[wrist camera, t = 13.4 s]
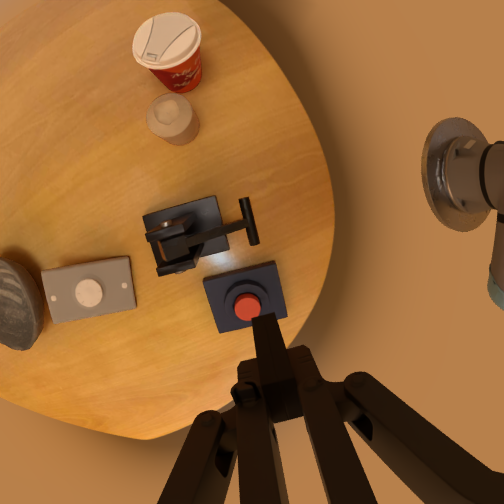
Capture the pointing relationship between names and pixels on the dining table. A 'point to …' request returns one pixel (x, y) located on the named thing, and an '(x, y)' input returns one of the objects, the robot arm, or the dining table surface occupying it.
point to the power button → (247, 306)
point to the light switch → (89, 289)
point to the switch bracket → (185, 232)
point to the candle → (173, 119)
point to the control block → (237, 283)
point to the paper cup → (170, 50)
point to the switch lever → (210, 234)
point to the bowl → (19, 306)
